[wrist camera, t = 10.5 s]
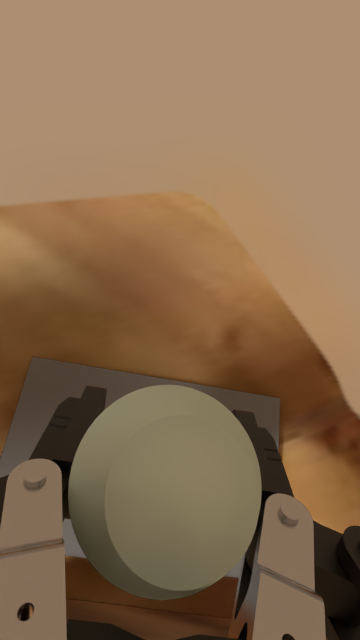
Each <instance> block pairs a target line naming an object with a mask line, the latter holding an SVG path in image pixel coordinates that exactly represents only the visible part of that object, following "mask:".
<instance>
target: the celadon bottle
mask: <svg viewBox="0 0 360 640" xmlns="http://www.w3.org/2000/svg"><path fill="white" fill-rule="evenodd" d="M261 496H262V488H261V474H260V467H259V463H258V459H257V455H256V452H255V450H254V447H253V444H252V442H251V440H250V438H249V436H248V434H247V432H246V431H245V429H244V428H243V426H242V425H241V423H240V422H239V421H238V419H237V418H236V417H235V416H234V415H233V414H232V412H231V411H229V410H228V409H227V408H226V407H225V406H224V405H223V404H221V403H220V402H219V401H217V400H216V399H214V398H213V397H211V396H209V395H207V394H205V393H203V392H201V391H198V390H195V389H193V388H189V387H184V386H178V385H156V386H150V387H145V388H142V389H139V390H136V391H134V392H131V393H129V394H127V395H125V396H123V397H122V398H120V399H118V400H117V401H115V402H114V403H112V404H111V405H110V406H109V407H107V408H106V409H105V410H104V411H103V412H102V413H101V414H100V415H99V416H98V417H97V418H96V419H95V421H94V422H93V423H92V425H91V426H90V427H89V428H88V430H87V432H86V433H85V435H84V437H83V438H82V440H81V442H80V444H79V447H78V449H77V451H76V454H75V457H74V460H73V463H72V467H71V472H70V478H69V488H68V502H69V513H70V518H71V523H72V527H73V530H74V533H75V536H76V539H77V541H78V543H79V545H80V547H81V549H82V551H83V553H84V554H85V556H86V557H87V559H88V560H89V562H90V563H91V565H92V566H93V567H94V568H95V569H96V570H97V571H98V572H99V574H100V575H101V576H103V577H104V578H105V579H106V580H108V581H109V582H110V583H111V584H112V585H114V586H116V587H118V588H119V589H121V590H123V591H125V592H127V593H130V594H132V595H135V596H137V597H142V598H147V599H151V600H172V599H180V598H183V597H187V596H190V595H194V594H196V593H198V592H200V591H202V590H205V589H207V588H208V587H210V586H211V585H213V584H214V583H216V582H217V581H219V580H220V579H221V578H222V577H224V576H225V575H226V574H227V573H228V572H230V571H231V570H232V569H233V568H234V567H235V566H236V564H237V563H238V562H239V561H240V560H241V558H242V557H243V555H244V554H245V552H246V551H247V549H248V547H249V545H250V543H251V541H252V538H253V535H254V533H255V530H256V526H257V521H258V516H259V512H260V506H261Z"/></svg>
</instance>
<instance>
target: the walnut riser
mask: <svg viewBox="0 0 360 640" xmlns="http://www.w3.org/2000/svg"><path fill="white" fill-rule="evenodd" d="M68 619H74V620H83V621H91V622H100V623H108V624H113V625H115V626H117V627H119V628H121V629H123V630H125V631H128V632H130V633H132V634H134V635H136V636H138V637H140V638H142V639H145V640H176V639H180V638H185V637H189V636H193V635H198V634H201V635H210V636H218V637H226V638H227V636H228V632H229V628H230V623H231V619H229V618H221V617H213V616H204V615H196V614H188V613H180V612H171V611H163V610H155V609H147V608H138V607H130V606H122V605H114V604H105V603H97V602H89V601H80V600H72V599H66V625H67V621H68ZM326 640H328V639H327V637H326Z"/></svg>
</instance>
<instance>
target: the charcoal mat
mask: <svg viewBox="0 0 360 640" xmlns="http://www.w3.org/2000/svg"><path fill="white" fill-rule="evenodd" d="M87 385H88V386H94V387H100V388H106V389H107V394H106V402H105V409H106V408H107V407H109V406H110V405H111V404H112V403H114V402H115V401H117V400H118V399H120V398H122V397H123V396H125V395H127V394H129V393H131V392H134V391H136V390H139V389H142V388H145V387H150V386H156V385H178V386H184V387H189V388H193V389H195V390H198V391H201V392H203V393H205V394H207V395H209V396H211V397H213V398H214V399H216V400H217V401H219V402H220V403H221V404H223V405H224V406H225V407H226V408H227V409H228V410H229V411H231V412H232V411H233V409H235V410H242V411H248V412H253V413H254V415H255V419H256V422H257V426H258V427H261V428H266V429H267V431H268V432H269V433H270V434H271V436H272V437H273V438H274V440H275V443H276V445H277V448H278V453H279V422H280V398H276V397H270V396H264V395H258V394H252V393H246V392H241V391H235V390H229V389H223V388H217V387H211V386H205V385H199V384H193V383H187V382H181V381H175V380H169V379H163V378H158V377H152V376H146V375H140V374H134V373H128V372H122V371H116V370H110V369H104V368H98V367H92V366H86V365H80V364H74V363H69V362H63V361H57V360H51V359H45V358H39V357H32V360H31V363H30V366H29V369H28V373H27V376H26V379H25V382H24V385H23V389H22V392H21V395H20V398H19V401H18V404H17V408H16V411H15V414H14V417H13V420H12V423H11V427H10V430H9V433H8V436H7V439H6V443H5V446H4V449H3V452H2V455H1V458H0V477H4V476H7V475H9V474H10V473H11V472H12V470H13V469H14V468H16V467H17V466H18V465H20V464H21V463H23V462H25V461H28V460H29V458H30V456H31V454H32V453H33V451H34V449H35V447H36V445H37V443H38V442H39V440H40V438H41V436H42V434H43V432H44V431H45V429H46V427H47V426H48V423H49V421H50V420H51V418H52V417H53V414H54V412H55V410H56V409H57V407H58V405H59V404H60V403H62V402H63V401H64V400H66V399H67V398H68V397H74V398H81V396H82V394H83V392H84V390H85V387H86V386H87ZM63 540H64V547H65V555H66V556H73V557H81V558H87V557H86V556H85V554H84V553H83V551H82V549H81V547H80V545H79V543H78V541H77V539H76V536H75V533H74V530H73V527H72V523H71V519H64V522H63ZM244 555H245V554H244ZM244 555H243V557H244ZM243 557H242V558H241V560H240V561H239V562H238V563H237V564H236V566H235V567H234V568H233V569H232V570H231V571H230V572H228V573H227V574H226V575H225V576H228V577H235V578H239V574H240V568H241V563H242V560H243Z"/></svg>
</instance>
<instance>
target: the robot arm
mask: <svg viewBox="0 0 360 640" xmlns="http://www.w3.org/2000/svg"><path fill="white" fill-rule="evenodd" d="M106 394H107V389H106V388H100V387H94V386H88V385H87V386H86V387H85V390H84V392H83V394H82V396H81V398H74V397H68V398H67V399H66V400H64V401H63V402H62V403H60V404H59V405H58V407H57V409H56V410H55V412H54V414H53V417H52V418H51V420H50V421H49V423H48V426H47V427H46V429H45V431H44V432H43V434H42V436H41V438H40V440H39V442H38V443H37V445H36V447H35V449H34V451H33V453H32V454H31V456H30V458H29V460H28V461H25V462H23V463H21V464H20V465H18V466H17V467H16V468H14V469H13V470H12V472H11V473H10V474H9V475H7V476H4V477H0V640H145V639H142V638H140V637H138V636H136V635H134V634H132V633H130V632H128V631H125V630H123V629H121V628H119V627H117V626H115V625H113V624H108V623H100V622H91V621H83V620H74V619H68V621H67V625H66V586H65V547H64V540H63V522H64V519H71V518H70V513H69V502H68V488H69V478H70V472H71V467H72V463H73V460H74V457H75V454H76V451H77V449H78V447H79V444H80V442H81V440H82V438H83V437H84V435H85V433H86V432H87V430H88V428H89V427H90V426H91V425H92V423H93V422H94V421H95V419H96V418H97V417H98V416H99V415H100V414H101V413H102V412H103V411H104V410H105V402H106ZM232 414H233V415H234V416H235V417H236V418H237V419H238V421H239V422H240V423H241V425H242V426H243V428H244V429H245V431H246V432H247V434H248V436H249V438H250V440H251V442H252V444H253V447H254V450H255V452H256V455H257V459H258V463H259V467H260V474H261V488H262V496H261V506H260V512H259V516H258V521H257V526H256V530H255V533H254V535H253V538H252V541H251V543H250V545H249V547H248V549H247V551H246V552H245V555H244V557H243V560H242V563H241V568H240V574H239V579H238V585H237V590H236V596H235V601H234V607H233V612H232V618H231V623H230V628H229V632H228V636H227V638H226V637H218V636H210V635H201V634H198V635H193V636H189V637H185V638H180V639H176V640H326V637H327V639H328V640H360V526H350V527H348V528H347V529H346V530H345V531H344V533H343V534H341V533H338V532H336V531H334V530H332V529H329V528H327V527H325V526H322V525H320V524H318V523H317V522H315V521H313V519H312V517H311V514H310V513H309V511H308V510H307V508H306V507H305V506H304V505H303V504H302V503H301V502H300V501H298V500H297V499H295V498H294V495H293V493H292V490H291V487H290V484H289V481H288V478H287V475H286V472H285V469H284V466H283V463H282V462H281V457H280V454H279V453H278V448H277V445H276V443H275V440H274V438H273V437H272V436H271V434H270V433H269V432H268V431H267V429H266V428H261V427H258V426H257V422H256V419H255V415H254V413H253V412H248V411H242V410H235V409H233V411H232Z"/></svg>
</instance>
